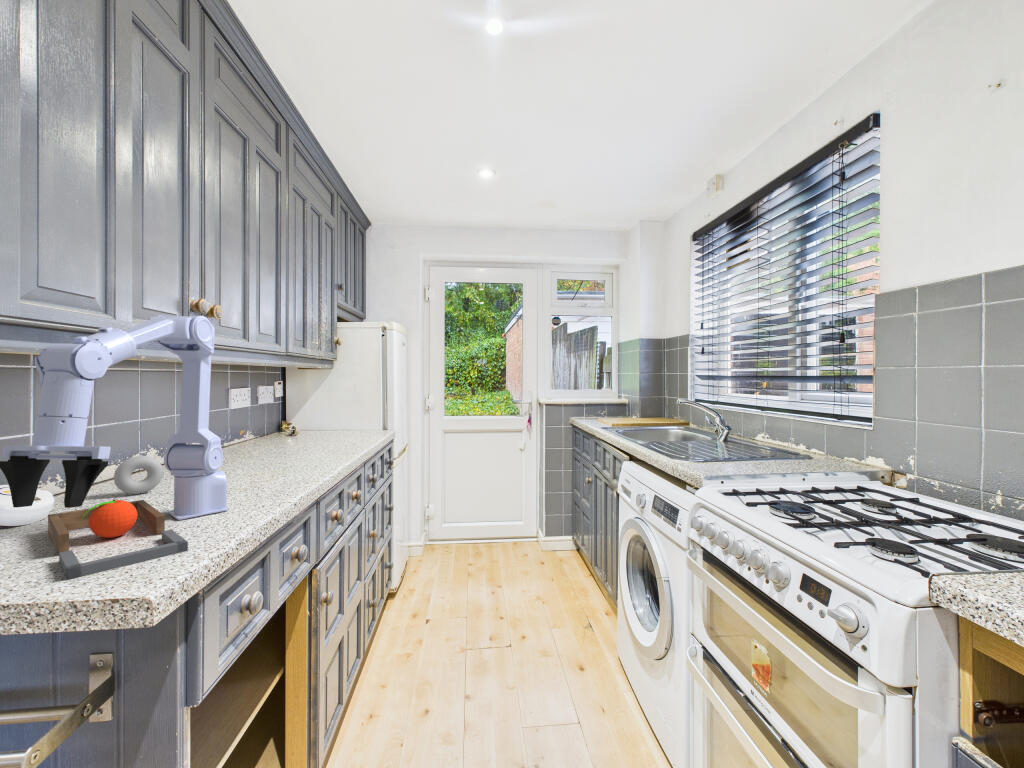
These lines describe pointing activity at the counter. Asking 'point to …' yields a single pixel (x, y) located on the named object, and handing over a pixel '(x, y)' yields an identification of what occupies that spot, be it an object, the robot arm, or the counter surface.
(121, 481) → the donut
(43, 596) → the counter surface
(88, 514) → the brown wooden frame
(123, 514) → the clementine
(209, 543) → the counter surface
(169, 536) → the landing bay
